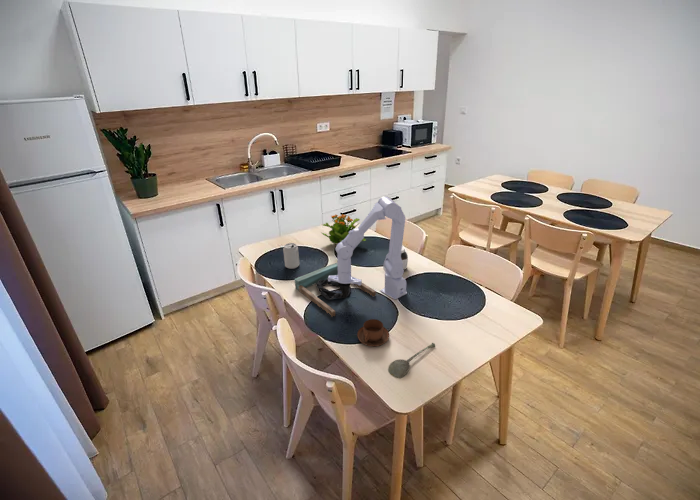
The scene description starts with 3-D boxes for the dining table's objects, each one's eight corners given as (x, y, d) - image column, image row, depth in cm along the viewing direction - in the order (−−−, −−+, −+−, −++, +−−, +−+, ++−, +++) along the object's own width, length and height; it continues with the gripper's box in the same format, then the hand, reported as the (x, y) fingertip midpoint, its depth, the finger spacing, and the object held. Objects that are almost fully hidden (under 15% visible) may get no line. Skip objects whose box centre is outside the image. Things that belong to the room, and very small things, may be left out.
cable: (310, 287, 168) (309, 279, 166) (335, 278, 175) (335, 270, 173) (329, 304, 155) (329, 296, 153) (356, 294, 162) (356, 285, 160)
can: (298, 269, 183) (296, 248, 178) (283, 269, 183) (281, 248, 178) (300, 262, 190) (298, 242, 184) (286, 262, 190) (284, 242, 185)
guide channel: (375, 295, 160) (375, 286, 158) (332, 317, 147) (332, 307, 145) (336, 271, 180) (336, 262, 178) (295, 288, 167) (294, 278, 165)
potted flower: (374, 241, 211) (374, 213, 203) (353, 257, 193) (352, 227, 186) (339, 233, 223) (338, 206, 216) (316, 247, 205) (314, 219, 198)
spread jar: (406, 265, 185) (408, 244, 180) (407, 276, 175) (409, 255, 170) (383, 264, 186) (383, 244, 181) (383, 275, 176) (383, 254, 171)
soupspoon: (383, 371, 121) (397, 384, 116) (384, 364, 119) (398, 376, 115) (426, 341, 133) (441, 351, 128) (427, 334, 131) (442, 344, 127)
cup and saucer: (387, 351, 128) (387, 337, 126) (354, 347, 131) (354, 333, 128) (390, 330, 139) (391, 317, 136) (360, 326, 141) (360, 313, 139)
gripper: (363, 267, 153) (363, 293, 159) (331, 263, 157) (332, 289, 163) (359, 275, 147) (359, 302, 153) (325, 271, 151) (327, 298, 157)
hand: (345, 296), depth 158 cm, fingers closed
